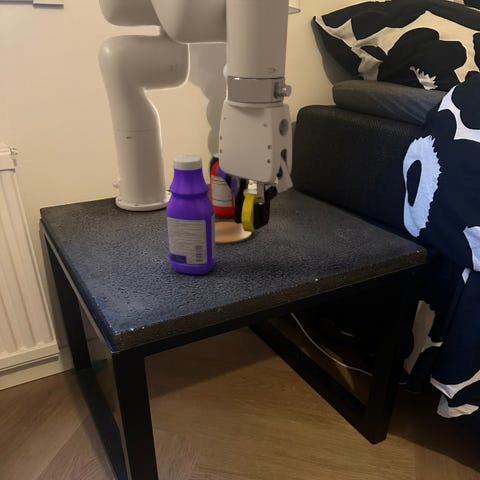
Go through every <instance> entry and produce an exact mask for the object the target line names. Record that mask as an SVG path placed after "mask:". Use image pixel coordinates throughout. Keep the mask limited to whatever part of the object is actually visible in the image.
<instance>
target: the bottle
mask: <svg viewBox="0 0 480 480" xmlns="http://www.w3.org/2000/svg"><path fill="white" fill-rule="evenodd" d="M172 159H173V178H172V181H171V184H170V185H169V192H170V193H172V194H171V197H170V199H169V202H168V204H167V207H166V209H165V210H166V211H165V216H166V218H165V219H166V227H167V228H166V230H167V243H168V254H169V255H168V256H169V257H168V258H169V263H170V266H171V268H172V270H173V271H175V272H178V273H181V274H189V275H205V274H208V273H209V272H210V271H211V270H212V268H213V266H214V264H215V261H216V243H215V223H216V218H215V217H216V214H215V213H214V207H213V205H212V202H211V198H210V197H209V196H208V193H209V191H210V188H209V185H208V184H207V182H206V180H205V176H204V171H203V170H204V169H203V158H202V157H201V156H199V155H197V154H196V155H195V154H181V155H176V156H174V157H173V158H172Z"/></svg>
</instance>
